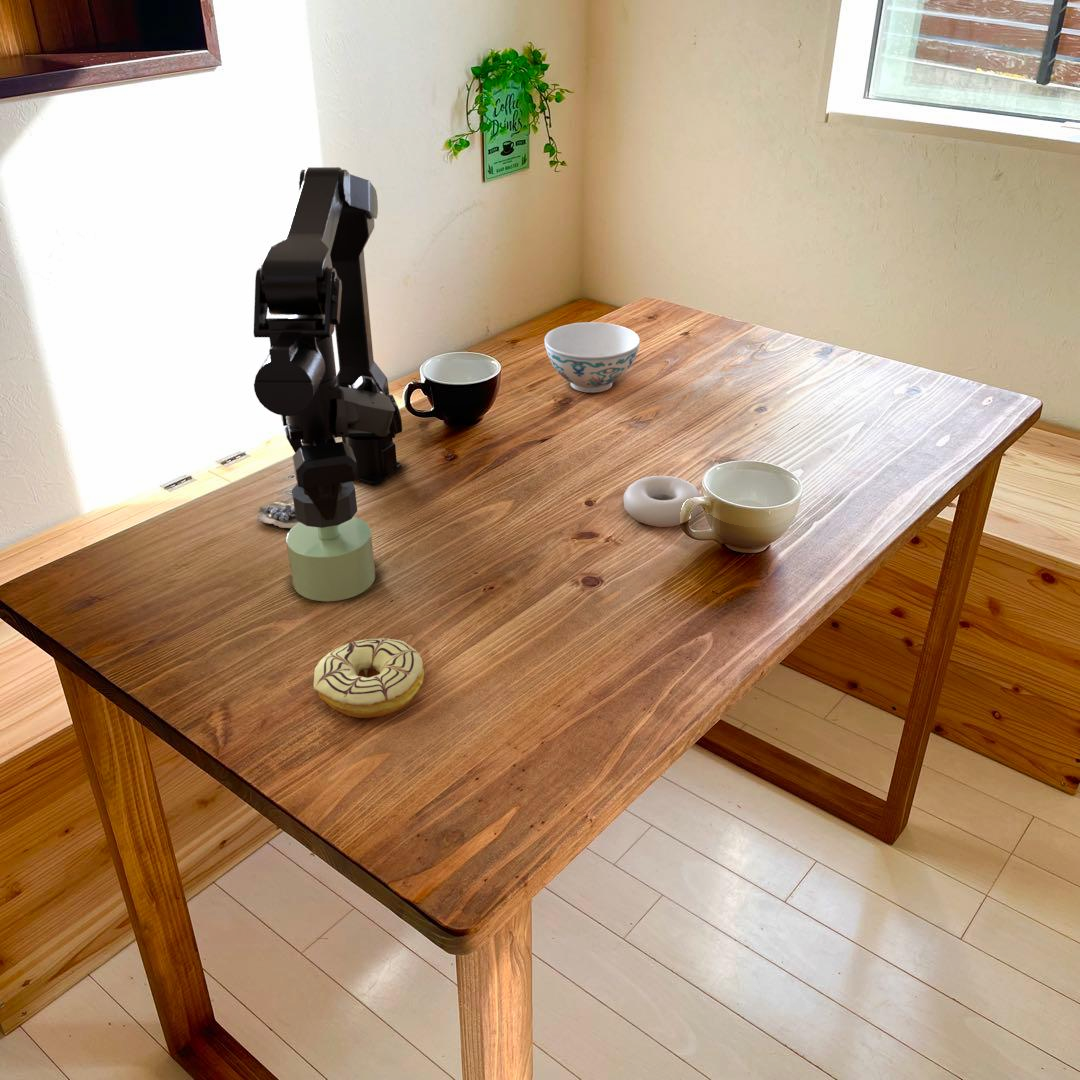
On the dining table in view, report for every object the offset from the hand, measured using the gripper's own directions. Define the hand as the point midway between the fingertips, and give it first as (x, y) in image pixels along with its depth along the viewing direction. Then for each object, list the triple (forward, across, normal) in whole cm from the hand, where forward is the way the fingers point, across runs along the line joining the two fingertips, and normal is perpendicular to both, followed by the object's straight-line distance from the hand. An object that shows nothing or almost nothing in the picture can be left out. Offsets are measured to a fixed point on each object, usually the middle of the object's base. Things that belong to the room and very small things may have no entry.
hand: (325, 504), depth 124 cm
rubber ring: (+1, 0, 0) cm, 1 cm away
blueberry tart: (+10, +16, +4) cm, 19 cm away
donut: (+10, +3, -42) cm, 44 cm away
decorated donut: (+10, -22, -1) cm, 24 cm away
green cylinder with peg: (+10, 0, 0) cm, 10 cm away
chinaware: (+10, +44, -47) cm, 66 cm away
